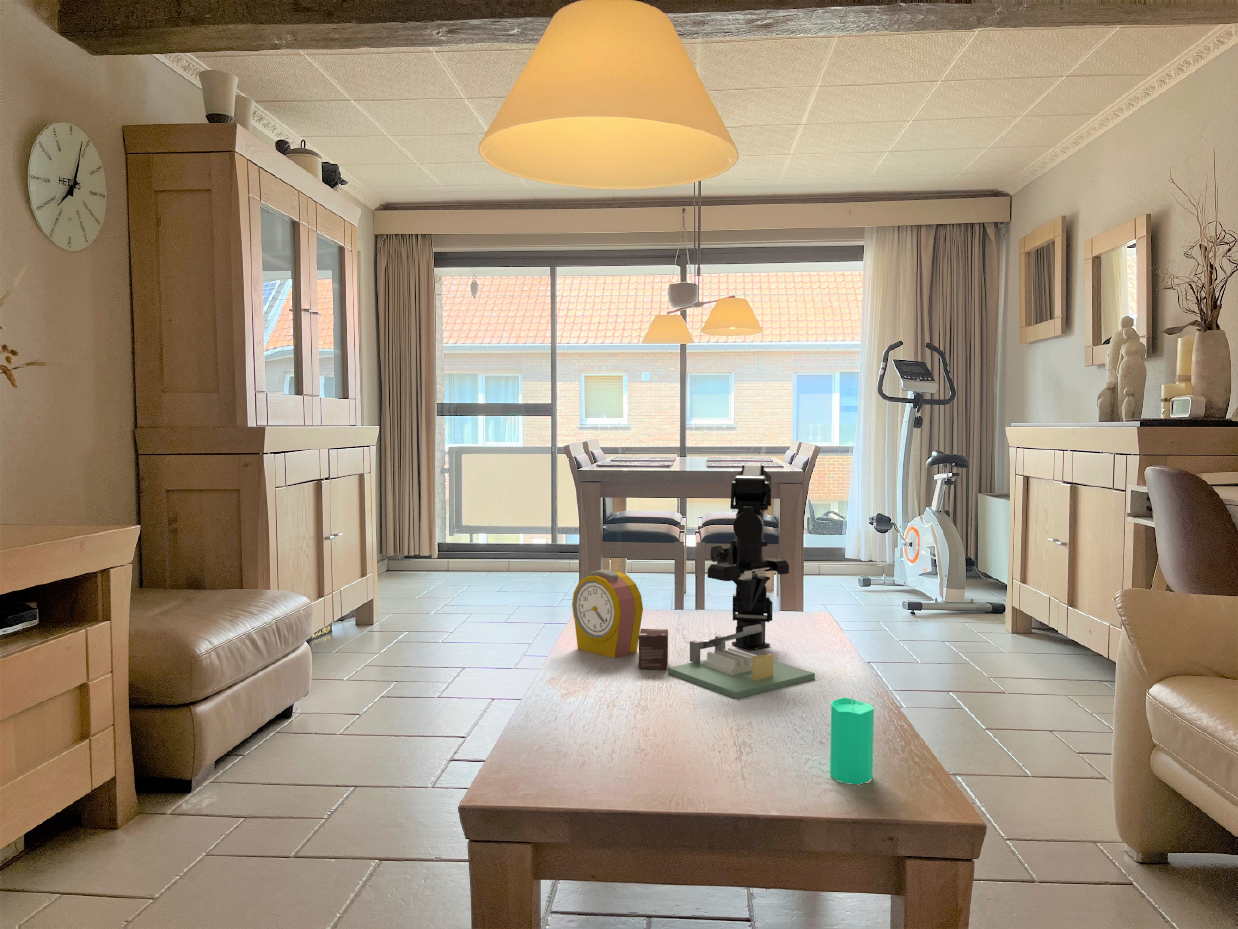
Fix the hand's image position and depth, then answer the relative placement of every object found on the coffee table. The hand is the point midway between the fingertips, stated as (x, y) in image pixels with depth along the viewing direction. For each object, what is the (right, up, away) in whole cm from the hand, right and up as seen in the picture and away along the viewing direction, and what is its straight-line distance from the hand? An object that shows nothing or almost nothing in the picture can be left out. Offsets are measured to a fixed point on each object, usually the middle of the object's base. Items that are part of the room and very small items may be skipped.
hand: (748, 610), depth 175 cm
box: (-20, -13, +3) cm, 24 cm away
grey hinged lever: (-4, -6, -2) cm, 8 cm away
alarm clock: (-30, -12, +15) cm, 36 cm away
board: (-2, -13, -4) cm, 14 cm away
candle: (+7, -15, -54) cm, 56 cm away
